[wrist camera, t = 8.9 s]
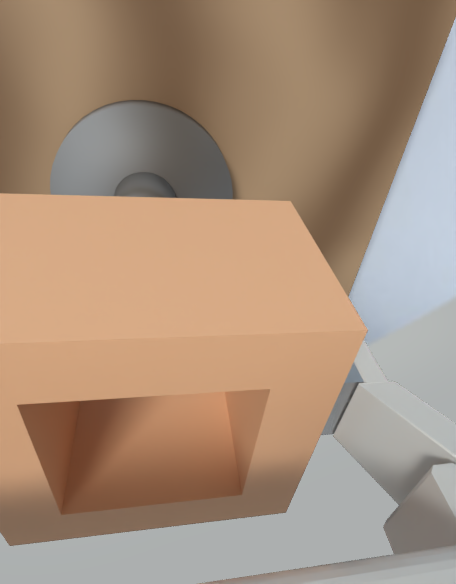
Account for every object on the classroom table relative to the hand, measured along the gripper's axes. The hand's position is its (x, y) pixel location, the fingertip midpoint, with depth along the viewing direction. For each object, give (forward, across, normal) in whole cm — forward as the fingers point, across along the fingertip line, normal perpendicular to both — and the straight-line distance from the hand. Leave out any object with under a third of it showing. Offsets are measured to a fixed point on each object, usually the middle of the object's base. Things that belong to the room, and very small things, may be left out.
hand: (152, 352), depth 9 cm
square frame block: (+2, 0, 0) cm, 2 cm away
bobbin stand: (+10, 0, 0) cm, 10 cm away
